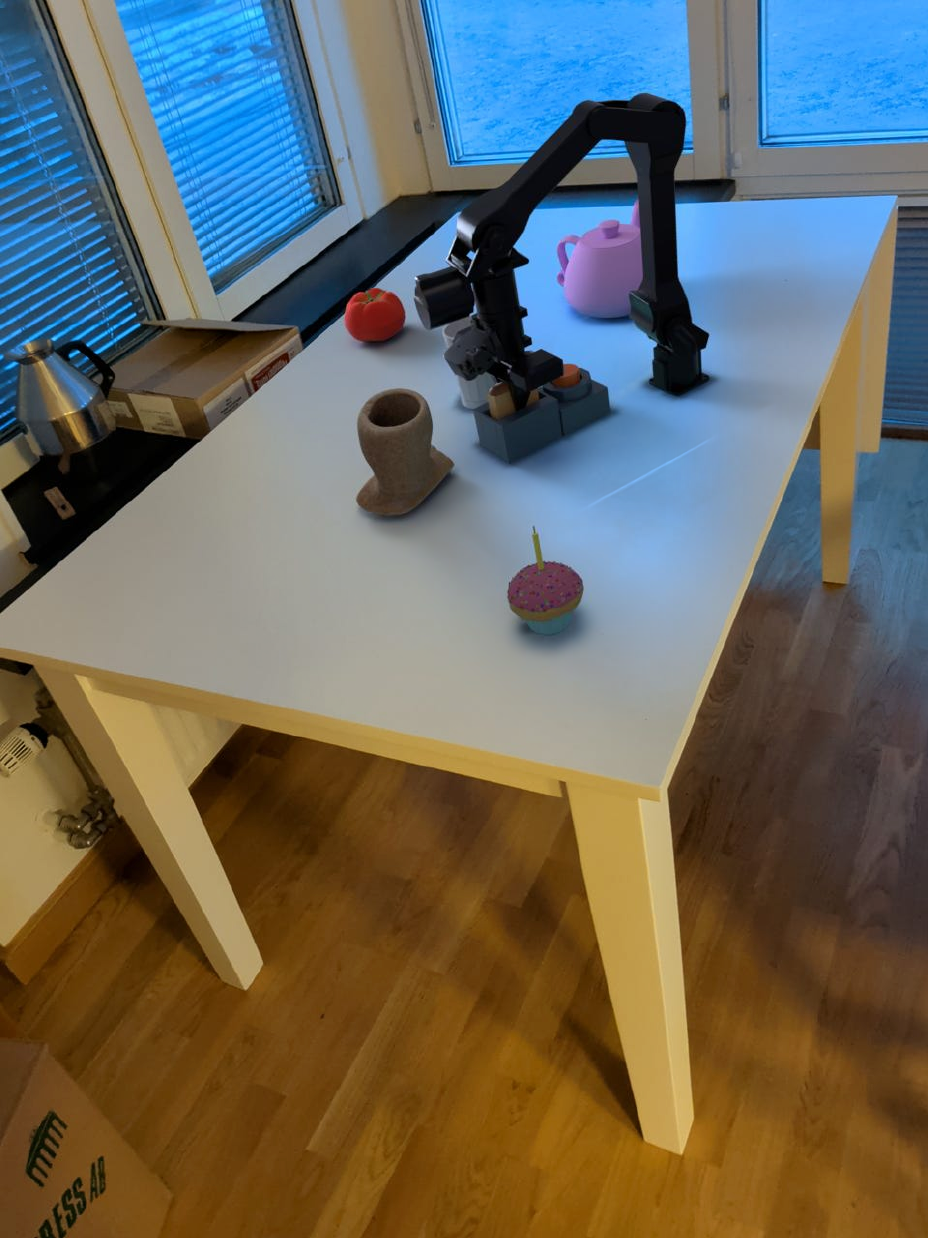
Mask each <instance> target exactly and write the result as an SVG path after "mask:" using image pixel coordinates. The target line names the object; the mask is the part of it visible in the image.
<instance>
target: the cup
mask: <svg viewBox="0 0 928 1238" xmlns="http://www.w3.org/2000/svg"><path fill="white" fill-rule="evenodd" d="M471 315H472V314H470V315H469V317H467V318H464V319H461V320H458V321H455V322H452V323H449V324H447V325H444V326H443V328H442V331H441V332H442V336H443V339H444V343H445V346H446V350H447V349H448V348H450V347H451V346H452V345H453V342H452V340H453V338H454V336H455V334H456V332H458V331H460V330H462V329H464V328H467V327H469V326H471V322H470V320H471V319H472V317H471ZM454 376H455V380H456V384H457V386H458V390H459V395H460V398H461V402H462V405H463V406H464V407H465V408H467V409H471V410H473V409H475V408H477V407H479V406H481V405H483V404H485V403H487V402H488V397H487V393H488V392H489V390H490V388H491V387H492V386H494V385H495V383H494V382H493V380H492V378H491V376H490V375H489V374H488V373H487V372H485V373H484V374H483V375H478V376H477V377H476V378H475V379H474V380H472V381H466V380H465V379H464V378H462V377H460V376H458V375H456V374H454Z"/></svg>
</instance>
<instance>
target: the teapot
mask: <svg viewBox="0 0 928 1238" xmlns="http://www.w3.org/2000/svg"><path fill="white" fill-rule="evenodd" d="M597 226H598V227H595V228H592V229H590V230H588V231H586V232H585V233H583V234H582V235H581V237H580V236H578V235H575V234H568V235H566V236H563V238H561V239H560V240H559V241H558V243H557V245H556V255H557V259H558V262H559V265H560V268H561V270H559V271H558V272H557V275H556V281H557V284H559V285H560V286H561V287H563V296H564V299H565V300H566V302H567V303H568V304H569V305H570V306H571V307H572V308H573V309H574V310H575V311H577V312H578V313H579V314H581V315H583V316H586V317H589V318H595V319H614V318H623V317H627V316H629V315H630V311H631V304H630V299H629V292H630V291H635V290H638V288H639V286H640V284H641V282H642V279H643V269H642V252H641V236H640V219H639V202H638V198H637V199H636V200H635V203H634V205H633V208H632V212H631V219H630V223H629V224H628V223H620V220H618V219H606V220H603V221H601V222H599V223H598V225H597ZM566 244H572V245H574V248H573V251H572V253H571V255H570V257H568V253H567V251H566Z"/></svg>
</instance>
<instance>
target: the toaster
mask: <svg viewBox="0 0 928 1238" xmlns="http://www.w3.org/2000/svg"><path fill="white" fill-rule="evenodd" d="M537 389H538V388H537ZM538 395H539V400H538V401H536V402H534V403H532V404H530V405H528V406H526V407H524V408H522V409H520V410H518V411H516V412H514V413H512V414H510V415H508V416H506V417H504V418H502V419H500V420H498V421H496V420H494V419H492V418H491V413H490V407H489V402H487V403H485V404H483V405H481V406H479V407H477V408H475V409H472V411H473V416H474V422H475V427H476V432H477V437H478V441H479V445H480V447H482V448H484V449H485V450H486V451H488V452H490V453H491V454H493V455H494V456H496V457H497V458H499V459H500V460H502V461H504V462H506V463H507V464H511V463H513V462H516V461H517V460H519V459H521V458H523V457H525V456H527V455H530V454H531V453H532V452H535V451H537V450H539V449H541V448H542V447H544V446H546V445H549V444H550V443H552V442H554V441H557V440H558V439H560V438H562V437H563V435H562V429H561V422H560V415H559V408H558V401H557V399H556V398H554V397H552V396H550V395H548V394H547V393H545V392H543V391H541V390H539V389H538Z"/></svg>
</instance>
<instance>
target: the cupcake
mask: <svg viewBox="0 0 928 1238" xmlns="http://www.w3.org/2000/svg"><path fill="white" fill-rule="evenodd" d="M532 530H533V532H532V533H531V536H532V542H533V548H534V554H535V559H536V562H535V563H531V564H527V565H526V566H525V567H522V568H521V569H520V570H519V571H518V572H517V573H516V574H515V576H512V578H511V581H509V582H508V588H507V591H506V595H507V596H506V598H507V602H508V605H509V608H510V611H511V612H512V613H514V614H515V615H516V616H518V617H519V618H520V619H521V620H523V621H525V623H526V624H527V626H528V627H529V629H530V630H531V631H532V632H533V633H536V634H538V635H543V636H551V635H556V634H558V633H560V632H562V631H564V629H566V628H567V627H568V626H569V624H570V621H571V617H572V612H573V611H574V610H576V609H577V608H578V606H579V605H580V603H581V602H582V598H583V594H584V583H583V582H584V581H583V579H582V577H580V574H579V573H577V572H576V570H575V569H573V568H572V567H571V566H569V565H567V564H563V563H562V562H556V561H555V560H553V561H550V560H549V561H548V560H547V561H546V560H544V559H543V555H542V548H541V543H540V537H539V532H537V531H536V526H535V525H532Z"/></svg>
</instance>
